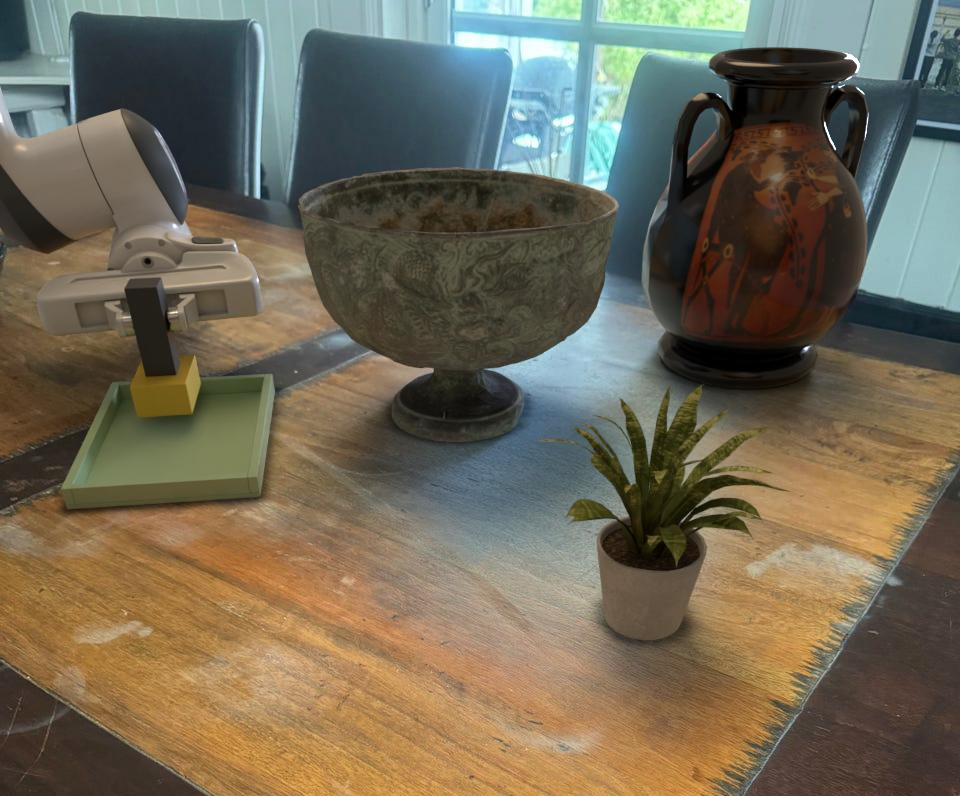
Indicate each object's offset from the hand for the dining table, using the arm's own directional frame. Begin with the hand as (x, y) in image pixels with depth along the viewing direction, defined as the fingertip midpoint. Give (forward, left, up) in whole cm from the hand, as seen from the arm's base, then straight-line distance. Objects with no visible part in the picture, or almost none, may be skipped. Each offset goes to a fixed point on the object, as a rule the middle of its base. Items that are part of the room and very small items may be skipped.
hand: (152, 325), depth 84 cm
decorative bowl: (+27, -1, -9) cm, 29 cm away
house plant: (+35, -37, -9) cm, 52 cm away
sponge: (0, +1, -7) cm, 8 cm away
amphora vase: (+57, +7, -9) cm, 59 cm away
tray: (+1, -5, -9) cm, 11 cm away
